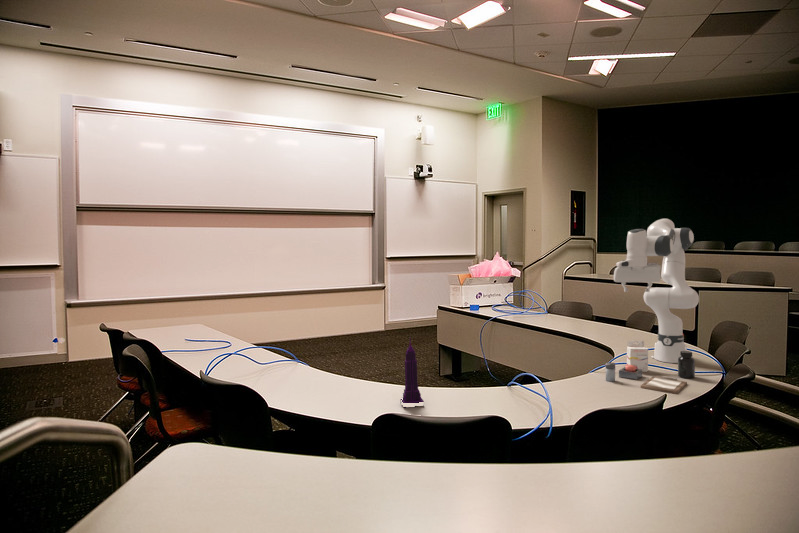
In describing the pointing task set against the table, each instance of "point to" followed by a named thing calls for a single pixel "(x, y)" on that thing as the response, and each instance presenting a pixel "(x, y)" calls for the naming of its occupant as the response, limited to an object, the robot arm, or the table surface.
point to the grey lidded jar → (610, 372)
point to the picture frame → (664, 384)
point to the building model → (411, 378)
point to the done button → (630, 368)
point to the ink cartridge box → (637, 355)
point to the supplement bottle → (686, 365)
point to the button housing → (630, 374)
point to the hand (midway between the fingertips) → (636, 291)
